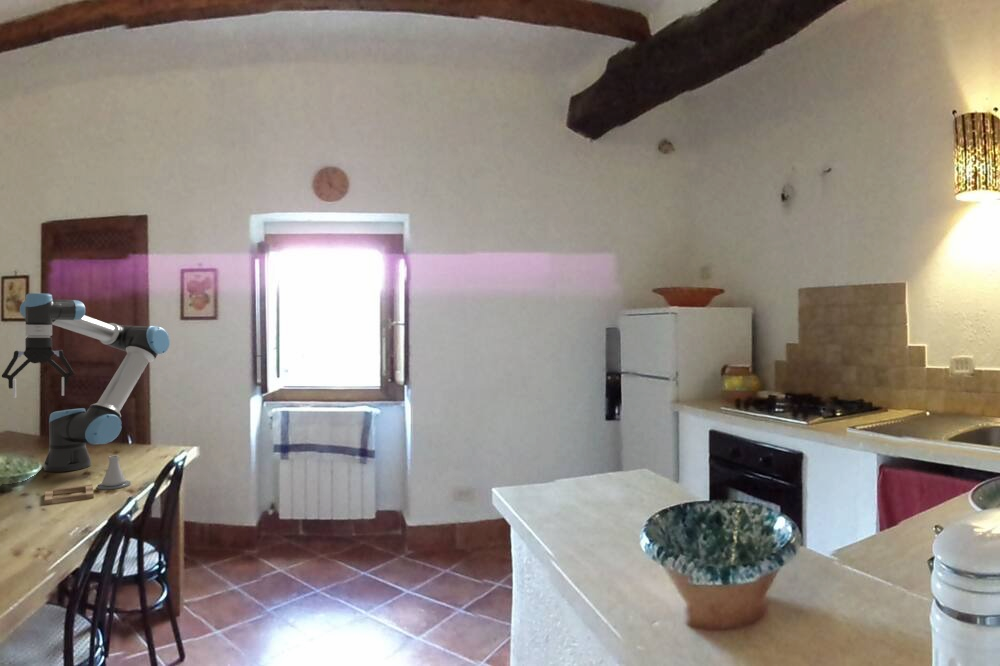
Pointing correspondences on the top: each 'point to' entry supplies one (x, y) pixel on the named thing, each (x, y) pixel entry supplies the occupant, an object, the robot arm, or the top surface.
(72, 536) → the top surface
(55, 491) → the holder
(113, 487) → the coaster
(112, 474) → the flask
